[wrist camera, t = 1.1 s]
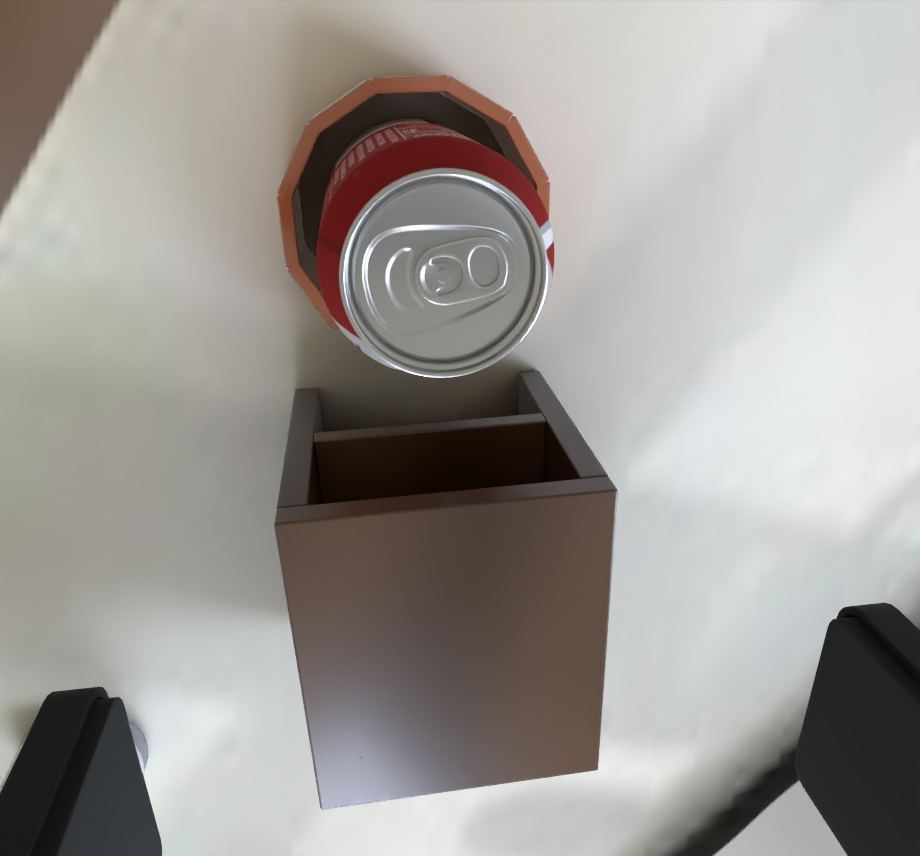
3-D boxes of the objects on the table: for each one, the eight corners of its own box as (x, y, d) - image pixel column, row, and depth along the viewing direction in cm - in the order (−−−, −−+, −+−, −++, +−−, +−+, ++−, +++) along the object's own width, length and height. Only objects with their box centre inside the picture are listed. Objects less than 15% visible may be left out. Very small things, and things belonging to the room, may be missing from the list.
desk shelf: (539, 369, 34) (618, 489, 24) (535, 598, 40) (598, 770, 30) (294, 389, 33) (273, 524, 23) (326, 622, 38) (320, 810, 29)
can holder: (526, 72, 29) (552, 71, 25) (524, 313, 33) (546, 343, 29) (272, 80, 28) (261, 81, 24) (303, 329, 32) (298, 361, 28)
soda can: (304, 137, 28) (280, 174, 18) (475, 100, 29) (554, 114, 18) (348, 305, 31) (351, 423, 21) (503, 270, 32) (585, 369, 21)
